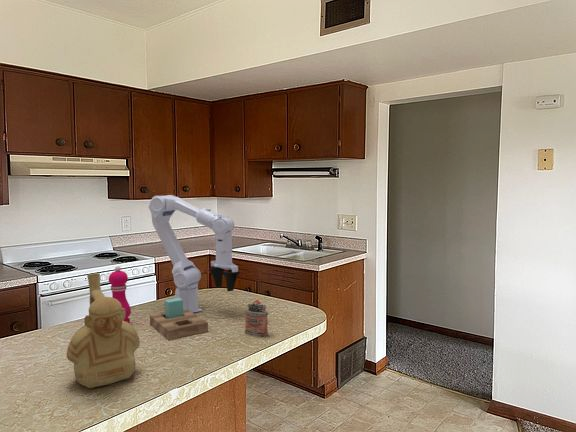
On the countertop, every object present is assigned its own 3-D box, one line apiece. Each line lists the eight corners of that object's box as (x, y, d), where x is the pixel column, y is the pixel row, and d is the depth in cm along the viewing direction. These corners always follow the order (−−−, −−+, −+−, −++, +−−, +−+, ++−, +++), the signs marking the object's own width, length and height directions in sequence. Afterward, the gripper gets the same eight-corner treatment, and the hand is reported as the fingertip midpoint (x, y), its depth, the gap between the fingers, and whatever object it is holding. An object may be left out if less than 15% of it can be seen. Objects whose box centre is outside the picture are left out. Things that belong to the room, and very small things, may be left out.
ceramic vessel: (74, 402, 100) (68, 291, 97) (62, 370, 116) (57, 275, 114) (151, 382, 109) (147, 280, 107) (130, 355, 125) (126, 267, 123)
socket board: (150, 324, 152) (149, 315, 151) (186, 317, 159) (186, 308, 159) (168, 340, 137) (168, 330, 137) (208, 331, 144) (207, 322, 144)
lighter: (242, 333, 142) (242, 302, 141) (248, 330, 145) (248, 300, 144) (264, 338, 138) (264, 306, 137) (270, 334, 141) (269, 303, 140)
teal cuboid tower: (165, 323, 152) (164, 300, 151) (179, 320, 155) (179, 297, 154) (169, 326, 149) (168, 302, 148) (183, 323, 152) (182, 300, 151)
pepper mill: (135, 321, 154) (133, 264, 152) (125, 329, 147) (123, 268, 145) (114, 321, 155) (112, 264, 153) (104, 328, 148) (101, 268, 146)
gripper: (203, 250, 163) (204, 286, 164) (225, 255, 152) (226, 294, 153) (219, 247, 167) (220, 283, 168) (242, 252, 156) (243, 291, 158)
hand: (224, 288), depth 161 cm, fingers open, 7 cm apart
